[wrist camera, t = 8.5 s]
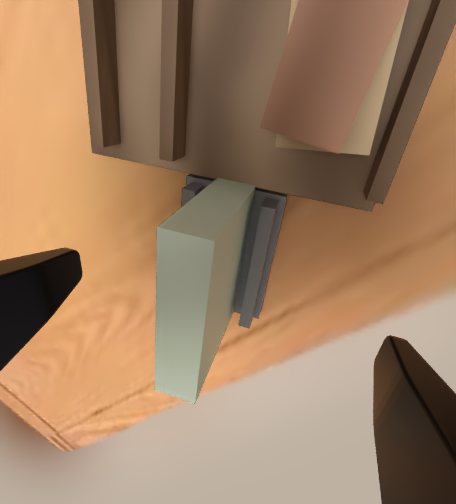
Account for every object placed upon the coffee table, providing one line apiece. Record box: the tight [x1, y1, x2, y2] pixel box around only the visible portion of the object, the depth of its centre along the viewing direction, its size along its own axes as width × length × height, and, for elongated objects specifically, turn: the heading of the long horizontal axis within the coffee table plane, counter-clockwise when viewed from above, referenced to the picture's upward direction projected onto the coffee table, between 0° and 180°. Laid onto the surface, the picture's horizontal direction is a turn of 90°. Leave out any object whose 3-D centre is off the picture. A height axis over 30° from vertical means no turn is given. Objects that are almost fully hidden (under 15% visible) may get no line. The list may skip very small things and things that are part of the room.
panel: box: [155, 178, 256, 404], centre depth 18 cm, size 2×10×8 cm, turn 172°
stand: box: [181, 174, 288, 328], centre depth 21 cm, size 6×10×2 cm
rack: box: [78, 0, 456, 212], centre depth 14 cm, size 18×14×5 cm
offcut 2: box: [275, 0, 409, 155], centre depth 14 cm, size 4×8×2 cm, turn 177°
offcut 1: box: [260, 0, 408, 154], centre depth 12 cm, size 4×6×2 cm, turn 164°
